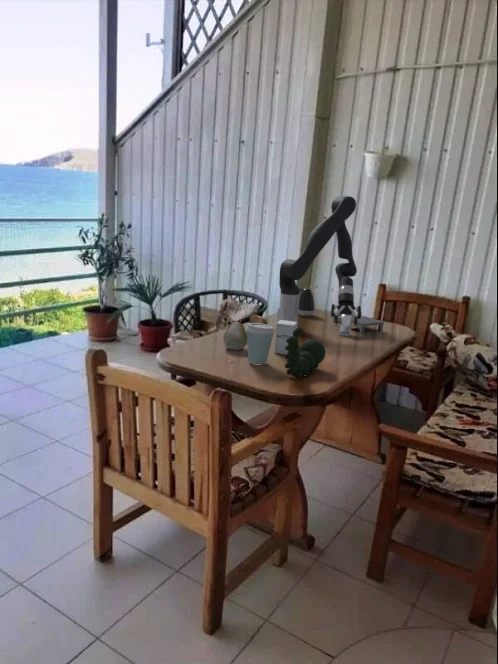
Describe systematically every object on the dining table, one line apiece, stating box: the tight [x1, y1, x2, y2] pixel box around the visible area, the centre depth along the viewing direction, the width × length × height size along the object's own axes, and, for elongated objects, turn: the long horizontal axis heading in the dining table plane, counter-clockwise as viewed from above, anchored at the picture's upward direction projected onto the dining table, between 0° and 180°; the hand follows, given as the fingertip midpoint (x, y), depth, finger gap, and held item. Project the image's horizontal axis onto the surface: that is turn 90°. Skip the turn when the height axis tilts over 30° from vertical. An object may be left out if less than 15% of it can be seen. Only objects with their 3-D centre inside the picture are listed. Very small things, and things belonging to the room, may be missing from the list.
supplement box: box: [273, 320, 298, 355], centre depth 204 cm, size 7×7×13 cm
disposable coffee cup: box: [245, 322, 275, 364], centre depth 187 cm, size 11×11×15 cm
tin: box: [248, 314, 269, 325], centre depth 232 cm, size 15×3×8 cm, turn 25°
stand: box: [351, 315, 385, 335], centre depth 253 cm, size 14×14×5 cm
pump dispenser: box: [298, 287, 316, 317], centre depth 278 cm, size 10×10×15 cm
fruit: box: [223, 319, 248, 351], centre depth 205 cm, size 10×9×12 cm
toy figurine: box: [284, 326, 326, 378], centre depth 179 cm, size 10×19×26 cm
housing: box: [338, 314, 352, 337], centre depth 240 cm, size 6×6×10 cm
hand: (345, 324), depth 239 cm, fingers open, 8 cm apart
